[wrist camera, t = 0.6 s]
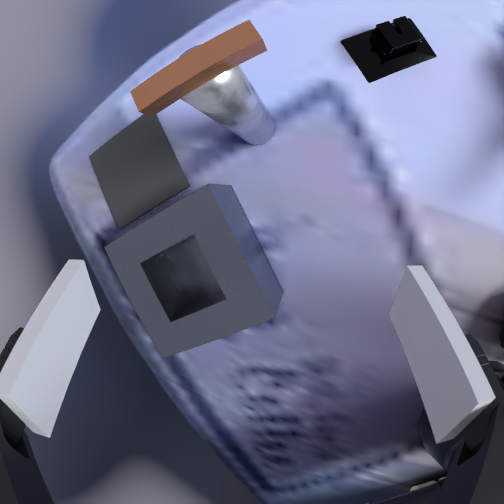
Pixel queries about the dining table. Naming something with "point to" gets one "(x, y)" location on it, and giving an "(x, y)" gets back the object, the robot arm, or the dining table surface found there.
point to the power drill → (502, 338)
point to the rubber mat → (138, 170)
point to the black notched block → (388, 48)
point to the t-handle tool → (214, 84)
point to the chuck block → (196, 271)
